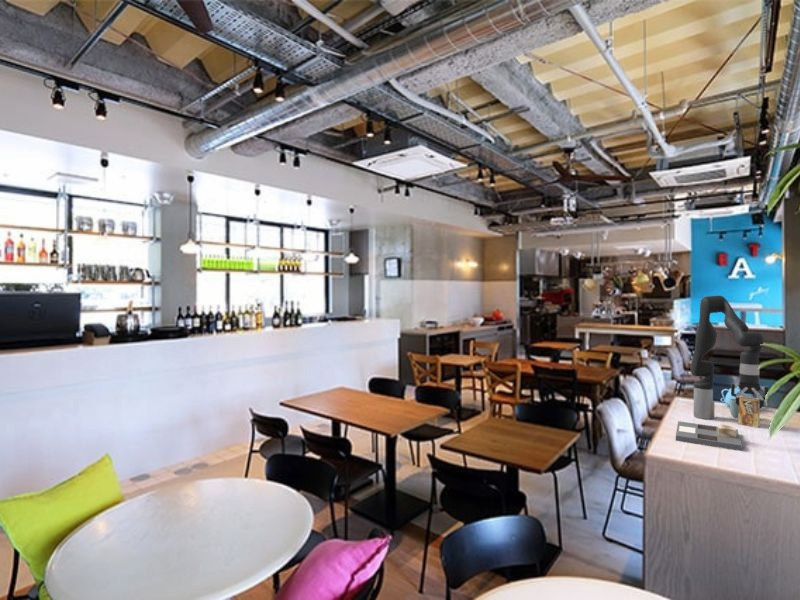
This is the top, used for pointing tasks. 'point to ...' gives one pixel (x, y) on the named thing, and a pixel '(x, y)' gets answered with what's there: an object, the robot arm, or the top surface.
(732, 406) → the cup
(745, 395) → the decorative pot
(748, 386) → the robot arm
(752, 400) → the candy box
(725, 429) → the maple block
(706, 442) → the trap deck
